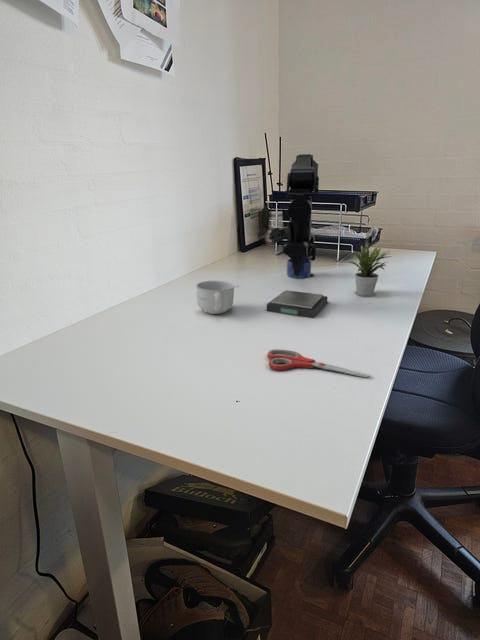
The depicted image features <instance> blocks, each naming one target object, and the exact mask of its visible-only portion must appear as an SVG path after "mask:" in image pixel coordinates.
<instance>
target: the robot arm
mask: <svg viewBox="0 0 480 640" xmlns="http://www.w3.org/2000/svg"><path fill="white" fill-rule="evenodd" d="M295 156H296V158H295V161H294V162H292V164H291V167H290V171H289V172H287V177H286V191H285V192H286V193H285V194H286V195H285V196H286V197H291V199H290V203H289V205H288V207H287V213H288V216H289V218H290V219H289V221H288V222H287V225H286V226H283V227H280V228H279V227H278V226H277V227H274V228H272V229H271V230H270V231H269V233H268V235H269V236H268V239H269V240H270V241H271V244H272V245H275V244H278V242H281V241H284V240H286V243H284V244H283V246H282V254H284V255H285V256H287V257H288V258H289V259H291V262H292V266H293V271H294V275H295V276H299V274H300V271H301V269H302V266H303V264H304V261H305V259H309V260H311V262H314V261H316V255H317V252H316V251H317V248H316V247H315V244H314V243H315V242H316V241H315V239H316V238H315V237H316V236H315V234H313V232H311V229H312V225H313V219H312V210H313V199H312V197H317V193H318V194H319V187H320V186H319V181H320V177H319V164H318V162H316V160H314V154H311V153H309V154H307V153H306V154H305V153H304V154H298V155H295ZM313 276H314V274H313V273H311V275H310V276H309V277H313Z"/></svg>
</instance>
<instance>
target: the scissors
mask: <svg viewBox="0 0 480 640" xmlns="http://www.w3.org/2000/svg"><path fill="white" fill-rule="evenodd" d="M266 356H267V358H268V359H269V361H268V366H269V368H271V369H272V370H275V371H284V370H289V369H293V368H302V369H303V368H304V369H313V368H318V369H320V370H326V371H331V372H335V373H341V374H346V375H350V376H355V377H360V378H369V377H370V376H369V375H367V374H366V373H365V374H364V373H361V372H359V371H354V370H352V369H347V368H343V367H339V366H335V365H331V364H329V363H324V362H319V361H316V359H312V358H310V357H306V356H303V355H301V354H300V353H299V352H297V351H293V350H288V349H281V348H280V349H279V348H278V349H277V348H276V349H270V350H269V351H268V352H267V354H266Z"/></svg>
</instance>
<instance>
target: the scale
mask: <svg viewBox="0 0 480 640" xmlns="http://www.w3.org/2000/svg"><path fill="white" fill-rule="evenodd" d="M283 292H284V291H282V292H281V293H280V294H282V293H283ZM280 294H278V295H277V296H276V297H274V298H273V299H272V300H271V301H273V300H274V299H275V298H277V297H278V296H279V295H280ZM328 298H329V296H327V295H324V297H323V298H322V299H321V300H320V301H319V302H318V303H317V304H316V305H315V306H314V307H313V308H312V309H308V308H301V307H294V306H287V305H280V304H273V303H271V301H269V302H268V303H266V312H272V313H279V314H284V315H285V314H286V315H292V316H299V317H305V318H311V319H312V318H313V319H314V318H315V317H316V316H317V315H318V314H319V312H320V311H322V309H323V308H324V307H325V306H326V305H327V304H328Z"/></svg>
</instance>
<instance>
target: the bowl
mask: <svg viewBox="0 0 480 640" xmlns="http://www.w3.org/2000/svg"><path fill="white" fill-rule="evenodd" d="M311 274H312V261H311V260H309V259H305V261H304V264H303V266H302V269H301V271H300V274H299V276H295V275H294V271H293V266H292V262H291V258H288V259H287V260H286V275H287V277H288V278H289V279H295V280H302V279H303V280H305V279H308V278H310V277H311V276H310V275H311Z"/></svg>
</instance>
